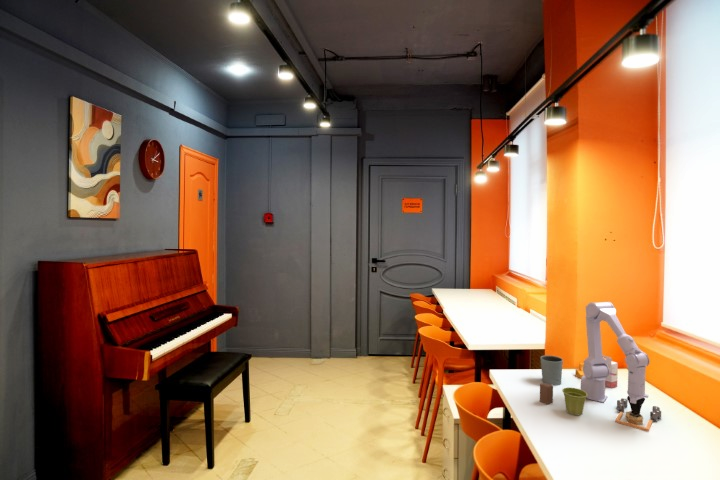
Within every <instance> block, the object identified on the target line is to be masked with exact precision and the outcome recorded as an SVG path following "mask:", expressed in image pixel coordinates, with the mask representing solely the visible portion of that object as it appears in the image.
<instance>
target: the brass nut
mask: <svg viewBox="0 0 720 480" xmlns="http://www.w3.org/2000/svg"><path fill="white" fill-rule="evenodd" d="M624 419H625V422H627V423H631V424H635V425H638V426H641V425H643V421H644V417H643V414H641V412H640V413H636V412H633V411H631V410H630V411H629V410H628V411H626V412H625V417H624Z"/></svg>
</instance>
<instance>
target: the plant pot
mask: <svg viewBox="0 0 720 480" xmlns="http://www.w3.org/2000/svg"><path fill="white" fill-rule="evenodd" d="M562 393H563V396H564V402H565V403H564V405H565V411H566V412H567V413H568V414H570V415H574V416H577V415H578V416H582V415H583V414H584V413H583V412H584V407H585V403H586V402H585V401H586V399H587V398H586V397H587V395H588V394H587V393H586V392H585V391H583V390H581V388H575V387H563V388H562Z"/></svg>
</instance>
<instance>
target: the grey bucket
mask: <svg viewBox="0 0 720 480" xmlns="http://www.w3.org/2000/svg"><path fill="white" fill-rule="evenodd" d="M563 363H564V360H563V358H562V357H559V356H556V355H541V356H540V367H541V377H542V379H541V380H542V383H548V384H550V385H553V386H560V385H562V379H563V378H562V376H563V375H562V374H563V372H562V371H563Z"/></svg>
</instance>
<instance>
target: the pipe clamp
mask: <svg viewBox="0 0 720 480" xmlns="http://www.w3.org/2000/svg"><path fill="white" fill-rule="evenodd" d="M583 366H584V362H579V363H578V368H575V373H574V375H575V376H576V377H577V378H579V380H581V378H582V376H585V375H584V373H583Z"/></svg>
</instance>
